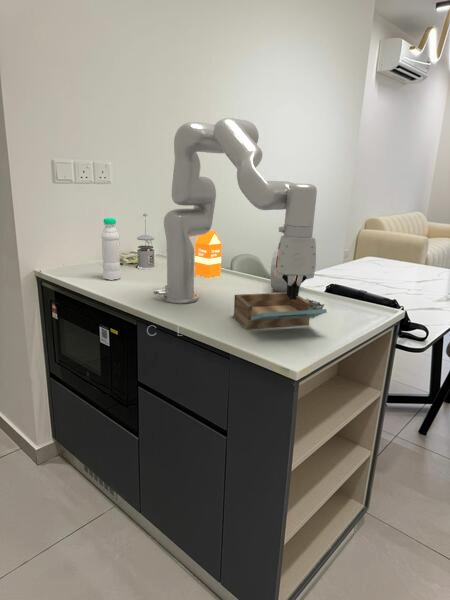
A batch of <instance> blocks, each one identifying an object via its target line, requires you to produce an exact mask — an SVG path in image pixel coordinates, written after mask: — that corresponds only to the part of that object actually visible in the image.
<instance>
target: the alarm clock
mask: <svg viewBox="0 0 450 600" xmlns="http://www.w3.org/2000/svg"><path fill="white" fill-rule="evenodd" d="M278 247H279V242H278V243H277V245H276V247H275V249H274V252H273V255H272V259H271V260H272V261H271V265H270V286H271V289H272V291H273V292H277V293H282V292H287V283H286V281H285V280H284V279H281V278H277V277H275V275H274V274H275V271H276V258H277V252H278ZM295 277H296V275H292V283H294V281H295ZM300 287H301V285H300V286H299V288H300Z"/></svg>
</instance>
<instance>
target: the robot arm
mask: <svg viewBox="0 0 450 600" xmlns="http://www.w3.org/2000/svg"><path fill="white" fill-rule="evenodd" d="M259 138H260V137H259V130H258V128H257V127H256V125H255V124H254V123H253V122H251V121H249V120H246V119H245V120H244V119H238V118H233V117H232V118H231V117H228V118H227V117H226V118H221V119H220V120H218V121H217V122H216V123H215V124H212V123H207V122H200V121H199V122H196V121H191V122H185V123H183V124H182V125H180V126H179V127H178V129H177V130H176V132H175V136H174V138H173V151H174V162H173V173H172V183H171V200H172V201H173V203H174V204H176V205H177V206H185V207H187V206H193V208H175V209H172V210H170V211H168V212H167V213H166V214H165V216H164V217H163V228H164V233H165V241H166V284H165V285H164V287H162V288H153V295H158V296H162V300H163V301H164V302H166V303H170V304H191V303H194V302H195V303H196V302H197V300H199V295H198V294H197V293H195V246H194V244H193V243H192V241H191V239H190V238H191V237H198V236H200V235H205V234H207V233H208V232H209V230H211V228H212V225H213V220H214V214H215V213H214V212H215V207H216V206H215V205H216V199H217V191H216V190H217V189H216V186H215V184H214V181H213V180H212V179H210V177H206V176H200V174H201V173H200V172H201V168H202V166H201V160H200V158H199V155H198V152H199V153H210V154H225V155H226V157H227V158H228V159H229V161H230V162H231V163H232V165H233V166H234V167H235V168H236V180H237V185H238V188H239V190H240V191H241V193H242V194H243V195H244V197H245V198H246V199H247V200H248V201H249V203H250V204H252V206H253V207H255V208H256V209H257V210H261V211H273V210H276V211H278V210H279V211H280V210H281V211H282V210H285V213H284V214H285V217H284V224H283V225H282V226H279V227H278V233H282V234H283V235H280V239H279V242H278V243H279V247H278V252H277V258H276V271H275V274H274V275H275V277H277V278H281V279H284V280H285V281H286V283H287V296H288V297H289V299H290V300H292V299H294V300H296V296H299V291H300V287H301V285H302V283H304V282H305V281H306V280H311V279H314V277H315V272H316V266H317V243H316V242H317V241H316V238H315V237H314V236H313V232H314V223H315V214H316V213H315V212H316V203H317V195H318V194H317V193H318V189H317V186H315V185H314V184H310V183H297V182H296V183H295V182H291V181H284V180H280V181H279V180H266V179H265V178H264V177H263V176H262V175H261V173H260V172H259V170H257V167H258V166H259V165H260V163H261V161H262V160H263V151H262V148H261V147H260V146H259V145H258V142H259ZM292 275H296V277H295V281H294V283H292ZM299 286H300V287H299Z"/></svg>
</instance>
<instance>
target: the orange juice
mask: <svg viewBox="0 0 450 600" xmlns="http://www.w3.org/2000/svg"><path fill="white" fill-rule="evenodd" d="M222 246H223V245H222V242H221V240H220V238H219V236H218V233H217V231H215V230H211V229H210V230H209V232H208V233H207V234H205V235H200V236H197V238H196V240H195V242H194V275H195V274H197V275H200V276H204V277H207V278H206V279H208V278H209V279H211V278H210V277H214V278H216V277H215V276H219V277H221V276H220V275H221V270H222V269H221V268H222ZM197 275H196V276H197ZM200 276H199V277H200ZM204 277H203V278H204Z"/></svg>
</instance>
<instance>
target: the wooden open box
mask: <svg viewBox="0 0 450 600" xmlns="http://www.w3.org/2000/svg"><path fill="white" fill-rule="evenodd" d="M233 299H234V302H233V304H234V305H233V317H234V318H235V319H236V320H237V321H239V323H240V324H241V325H242V326H243V327H244V328H245V329H246V330H257V329H259V330H260V329H271V328H274V329H275V328H286V327H298V326H299V327H300V326H301V327H302V326H309V325H310V319H311V317H307V318H294V319H269V320H254V321H251V317H253V316H256V315H259V314H261V313H270V312H286V311H302V310H310V308H311V303H310V302H308V301H307V300H305V298H303V297H302V296H300V295H298V296H296V300H294V299H292V300H290V299H289V297H288V296H287V292H265V293H262V292H261V293H243V294H234V298H233Z"/></svg>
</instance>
